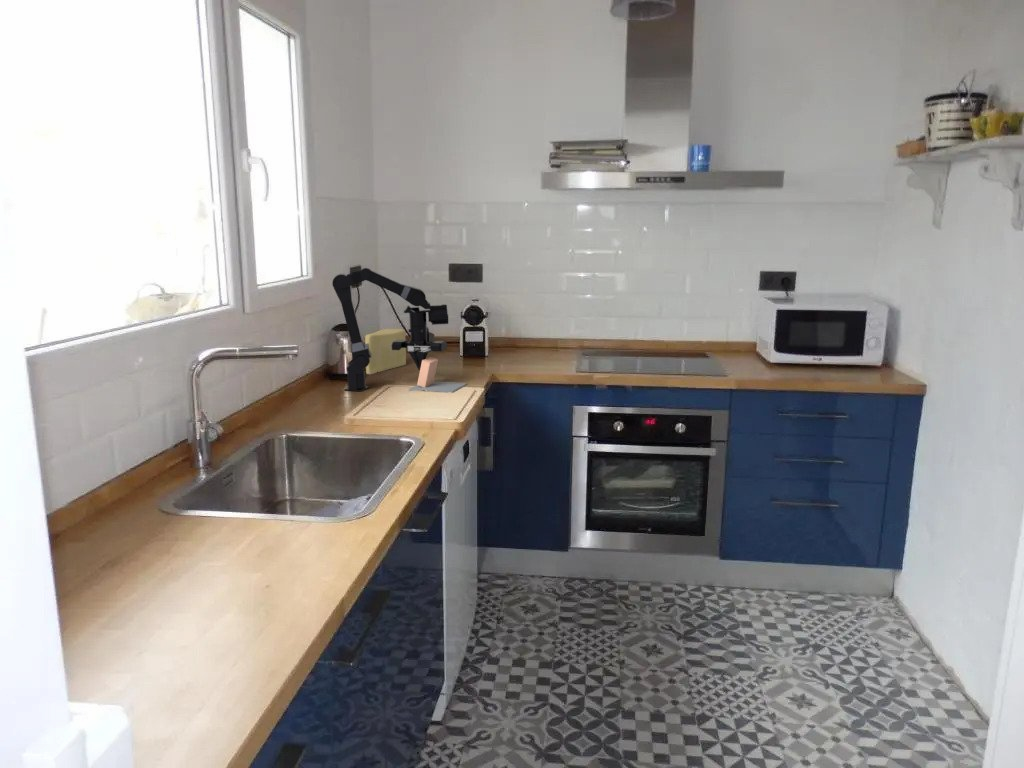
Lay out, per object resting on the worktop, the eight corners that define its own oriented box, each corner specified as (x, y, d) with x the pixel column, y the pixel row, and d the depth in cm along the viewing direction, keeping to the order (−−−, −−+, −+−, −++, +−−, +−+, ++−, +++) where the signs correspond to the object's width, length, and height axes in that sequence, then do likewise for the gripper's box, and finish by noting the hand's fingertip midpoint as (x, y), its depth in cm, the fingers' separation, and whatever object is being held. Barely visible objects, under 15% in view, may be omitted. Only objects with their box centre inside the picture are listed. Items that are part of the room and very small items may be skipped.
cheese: (379, 375, 283) (377, 336, 280) (356, 374, 286) (354, 335, 283) (407, 365, 303) (405, 328, 300) (386, 364, 306) (384, 327, 303)
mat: (452, 392, 251) (452, 391, 251) (408, 390, 256) (408, 389, 256) (467, 384, 264) (467, 383, 264) (425, 382, 269) (425, 381, 269)
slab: (424, 387, 258) (430, 362, 255) (417, 385, 259) (422, 360, 256) (433, 383, 264) (438, 359, 262) (425, 381, 265) (430, 356, 263)
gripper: (452, 322, 262) (454, 367, 266) (404, 322, 268) (406, 365, 271) (439, 327, 252) (441, 372, 255) (389, 326, 258) (392, 370, 261)
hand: (420, 370), depth 261 cm, fingers closed
